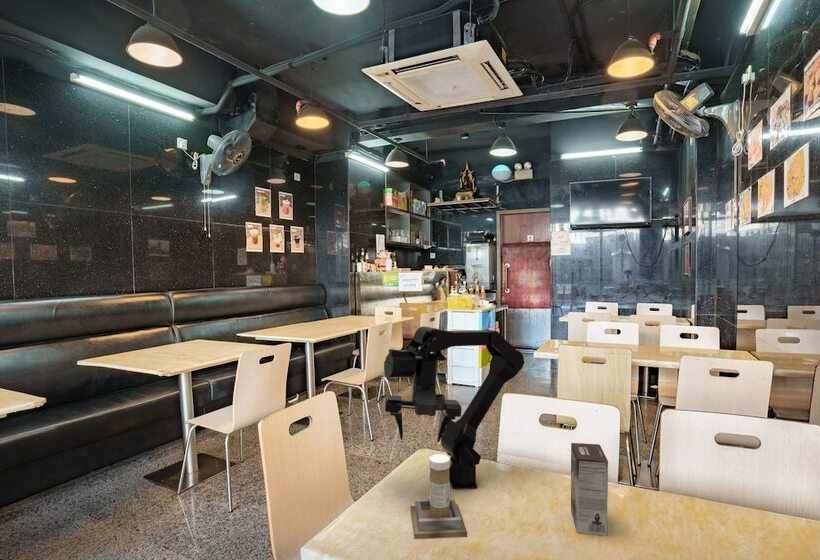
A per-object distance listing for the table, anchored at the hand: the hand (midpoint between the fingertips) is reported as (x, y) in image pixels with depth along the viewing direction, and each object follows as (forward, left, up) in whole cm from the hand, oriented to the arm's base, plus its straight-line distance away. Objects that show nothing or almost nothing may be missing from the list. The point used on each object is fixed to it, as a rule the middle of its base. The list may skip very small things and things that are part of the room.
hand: (419, 440), depth 110 cm
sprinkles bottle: (-3, +13, -12) cm, 18 cm away
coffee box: (-36, +16, -13) cm, 41 cm away
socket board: (-3, +13, -13) cm, 19 cm away
